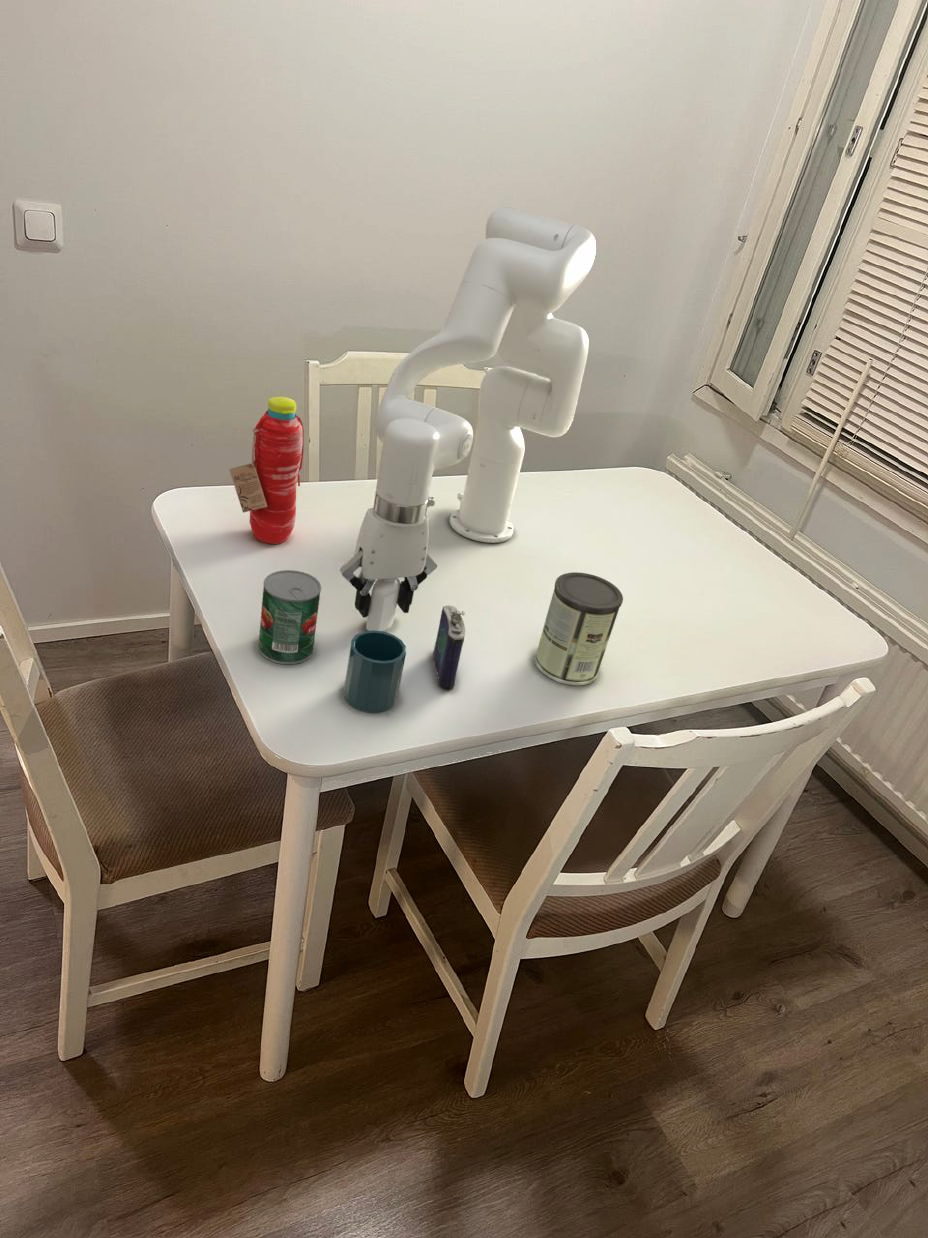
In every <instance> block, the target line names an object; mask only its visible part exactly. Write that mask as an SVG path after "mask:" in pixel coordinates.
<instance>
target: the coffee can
mask: <svg viewBox="0 0 928 1238" xmlns="http://www.w3.org/2000/svg"><path fill="white" fill-rule="evenodd" d="M623 602H624V596H623V594H622V592H621V590H620V588H618V587H617V586H616V585H614V584H613V583H612V582H610V581H608V580H607V579H605V578H602V577H601V576H598V575H594V574H590V573H586V572H576V571H575V572H573V571H572V572H567V573H563V574H561V575H559V576H558V577H557V578H556V579H555V582H554V589H553V592H552V595H551V599H550V603H549V605H548V610H547V614H546V617H545V621H544V625H543V628H542V632H541V635H540V639H539V641H538V642H539V643H538V646H537V650H536V653H535V655H534V663H535V666H536V668H537V669H538V670H539V671H540V672H541V673H542V674H543V675H544V676H545V677H546V678H548V679H551V680H553V681H555V682H557V683H560V684H563V685H566V686H567V685H568V686H585V685H588V684H591V683H593V682H594V681H596V679H597V678H598V675H599V671H600V667H601V664H602V661H603V658H604V657H605V656H604V655H605V652H606V650H607V647H608V644H609V640H610V638H611V634H612V632H613V629H614V625H615V622H616V620H617V616H618V614H619V610H620V608H621V607H622V604H623Z"/></svg>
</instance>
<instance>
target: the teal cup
mask: <svg viewBox="0 0 928 1238" xmlns="http://www.w3.org/2000/svg"><path fill="white" fill-rule="evenodd" d="M406 656H407V646H406V644H405V643H404V642H403V640H402V639H401V638H399V637H397V636H396V635H394V634H392V633H390V632H387V631H385V632H383V631H375V630H372V631H368V630H365V631H361V632H359V633H356V634H355V635H354V637H352V639H351V640H350V645H349V652H348V658H347V659H348V660H347V665H346V666H347V667H346V673H345V680H344V685H343V697H344V700H345V701H346V702H347V704H348V705H349V706H351V707H352V708H353V709H356V710H357V711H360V712H364V713H370V714H377V713H378V714H379V713H385V712H387V711H389V710H391V709H392V708H393V707H394V706H395V705H396V704H397V700H398V698H399V692H400V687H401V681H402V677H403V671H404V666H405V661H406Z"/></svg>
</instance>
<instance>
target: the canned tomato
mask: <svg viewBox="0 0 928 1238" xmlns="http://www.w3.org/2000/svg"><path fill="white" fill-rule="evenodd" d="M262 585H263V589H262V599H261V600H262V601H261V612H260V623H259V624H260V625H259V636H258V645H257V647H258V651H259V654H260V655H261V656H262V657H263V658H265V659H266V660H268V661H270V662H273V663H276V664H280V665H298V664H300V663H303V662H306V661H308V660H309V659H310V658H311V657H312V656H313V653H314V645H315V640H316V639H315V638H316V630H317V623H318V614H319V607H320V599H321V592H322V584H321V583H320V581H319V580H318V579H317V578H316V577H315V576H313V575H311V574H309V573H307V572H304V571H300V570H295V569H294V570H293V569H284V570H282V569H281V570H277V571H273V572H271V573H270V574H268V575H267V576H266V577H265V578H264V580H263V583H262Z"/></svg>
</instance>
